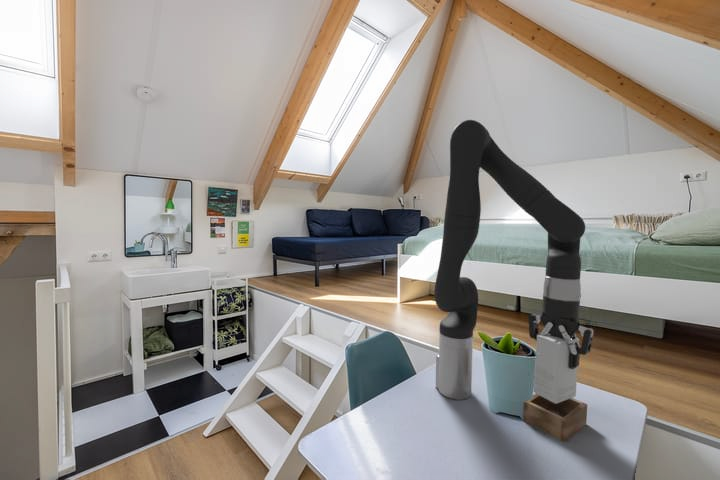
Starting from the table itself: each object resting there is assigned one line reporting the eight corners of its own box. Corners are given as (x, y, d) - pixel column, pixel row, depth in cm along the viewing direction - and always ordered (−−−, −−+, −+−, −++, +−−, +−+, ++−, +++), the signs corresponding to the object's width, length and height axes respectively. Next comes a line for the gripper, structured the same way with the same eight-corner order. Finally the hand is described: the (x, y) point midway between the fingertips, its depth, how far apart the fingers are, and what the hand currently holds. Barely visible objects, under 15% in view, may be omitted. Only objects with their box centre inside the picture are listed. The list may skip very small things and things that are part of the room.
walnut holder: (522, 420, 78) (523, 401, 77) (545, 405, 84) (546, 387, 84) (565, 442, 70) (566, 421, 69) (586, 424, 76) (587, 404, 76)
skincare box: (552, 386, 81) (556, 330, 81) (577, 398, 76) (581, 337, 75) (531, 392, 78) (535, 333, 77) (556, 405, 72) (559, 342, 72)
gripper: (523, 291, 79) (519, 355, 80) (590, 305, 67) (584, 379, 68) (537, 287, 83) (534, 348, 84) (603, 299, 71) (597, 370, 73)
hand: (556, 362), depth 76 cm, fingers closed on skincare box, 6 cm apart
